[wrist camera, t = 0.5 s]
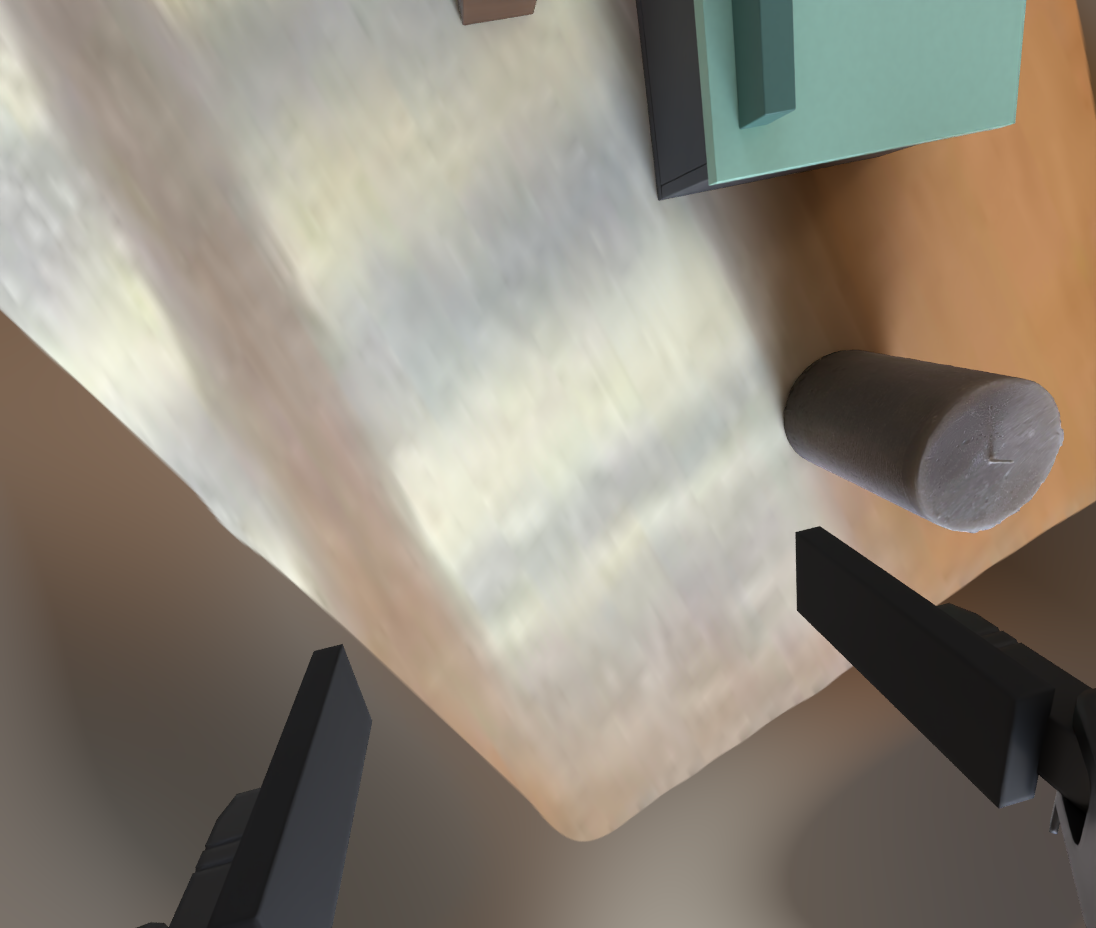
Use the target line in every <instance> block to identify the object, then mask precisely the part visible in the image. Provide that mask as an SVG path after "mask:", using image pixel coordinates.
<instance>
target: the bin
mask: <svg viewBox="0 0 1096 928" xmlns="http://www.w3.org/2000/svg"><path fill="white" fill-rule="evenodd" d="M636 4H637V13H638V22H639V31H640V40H641V49H642V58H643V67H644V76H645V85H646V94H647V103H648V112H649V121H650V130H651V139H652V148H653V157H654V166H655V175H656V184H657V193H658V200H664V199H669V198H674V197H679V196H684V195H689V194H694V193H699V192H704V191H709V190H714V189H719V188H724V187H729V186H734V185H739V184H744V183H749V182H754V181H759V180H764V179H769V178H774V177H779V176H784V175H789V174H794V173H799V172H804V171H809V170H814V169H819V168H824V167H829V166H834V165H839V164H844V163H849V162H854V161H859V160H864V159H869V158H874V157H879V156H882V155H885V154H889V153H892V152H895V151H898V150H902V149H905V148H908V147H911V146H914V145H911V146H906V147H901V148H896V149H891V150H886V151H881V152H876V153H871V154H866V155H861V156H856V157H851V158H846V159H841V160H836V161H831V162H826V163H821V164H816V165H811V166H806V167H801V168H796V169H791V170H786V171H781V172H776V173H771V174H766V175H761V176H756V177H750V178H745V179H740V180H735V181H730V182H725V183H720V184H715V185H709V182H708V170H707V157H706V145H705V133H704V121H703V108H702V96H701V84H700V72H699V59H698V47H697V35H696V23H695V10H694V0H636ZM917 145H918V144H917Z"/></svg>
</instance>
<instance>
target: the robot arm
mask: <svg viewBox="0 0 1096 928" xmlns="http://www.w3.org/2000/svg"><path fill="white" fill-rule="evenodd" d="M796 585H797V611H798V612H799V613H800V614H801V615H802V616H803V617H804V618H805V619H806V620H807V621H808V622H809V623H810V624H811V625H812V626H813V627H814V628H815V629H816V630H817V631H818V632H819V633H820V634H821V635H822V636H824V637H825V638H826V639H827V640H828V641H829V642H830V643H831V644H832V645H833V646H834V647H835V648H836V649H837V650H838V651H839V652H840V653H841V654H842V655H843V656H844V657H845V658H846V659H847V660H848V661H849V662H850V663H851V664H852V665H853V666H854V667H855V668H856V669H857V670H858V671H859V672H860V673H861V674H862V675H863V676H864V677H865V678H866V679H867V680H868V681H869V682H870V683H871V684H872V685H874V686H875V687H876V689H877V690H879V691H880V692H881V693H882V694H883V695H884V696H885V697H886V698H887V699H888V700H889V701H890V702H891V703H892V704H893V705H894V706H895V707H896V708H897V709H898V710H899V711H900V712H901V713H902V714H903V715H904V716H905V717H906V718H907V719H908V720H909V721H910V722H911V723H912V724H913V725H914V726H915V727H916V728H917V729H918V730H919V731H920V732H921V733H922V734H923V735H924V736H925V737H926V738H927V739H929V741H930V742H932V744H933V745H935V746H936V747H937V748H938V749H939V750H940V751H941V752H942V753H943V754H944V755H945V756H946V757H947V758H948V759H949V760H950V761H951V762H952V763H953V764H954V765H955V766H956V767H957V768H958V769H959V770H960V771H961V772H962V773H963V774H964V775H965V776H966V777H967V778H968V779H969V780H970V781H971V782H972V783H973V784H974V785H975V786H976V787H977V788H978V789H979V790H980V791H981V792H982V793H983V794H984V795H985V796H986V797H987V798H988V799H989V800H991V801H992V802H993V803H994V804H995V805H996V806H997V807H998V808H1002V807H1005V806H1008V805H1012V804H1015V803H1018V802H1022V801H1025V800H1028V799H1031V798H1034V795H1035V790H1036V785H1037V780H1038V775H1040V776H1041V777H1042V778H1043V779H1044V780H1046V781H1047V782H1048V783H1049V784H1050V785H1051V786H1053V787H1054V788H1055V789H1056V790H1057V793H1056V798H1055V802H1054V807H1053V811H1052V816H1051V821H1050V831H1049V832H1051V833H1055V834H1057V833H1058V829H1059V824H1060V825H1061V829H1062V833H1063V837H1064V841H1065V845H1066V849H1067V853H1068V857H1069V861H1070V865H1071V869H1072V873H1073V877H1074V881H1075V886H1076V890H1077V894H1078V898H1079V901H1080V906H1081V910H1082V914H1083V918H1084V922H1085V926H1086V928H1096V688H1095V689H1092V688H1091V687H1089V686H1087V685H1086V684H1084V683H1083V682H1081V681H1080V680H1078V679H1076V678H1075V677H1073V676H1072V675H1070V674H1069V673H1067V672H1066V671H1064V670H1063V669H1061V668H1059V667H1058V666H1056V665H1054V664H1053V663H1052V662H1050V661H1049V660H1047V659H1046V658H1044V657H1042V656H1041V655H1039V654H1038V653H1036V652H1034V651H1033V650H1032V649H1030V648H1029V647H1027V646H1025V645H1024V644H1022V643H1018V642H1017V640H1016V639H1015V638H1013V637H1012V636H1010V635H1009V634H1007V633H1005V632H1004V631H999V629H998V627H996V626H995V625H993V624H992V623H990V622H988V621H987V620H985V619H984V618H982V617H981V616H979V615H978V614H976V613H973V612H971V611H968V610H966V609H963V608H961V607H958V606H955V605H953V604H950V603H947V604H943V605H939V606H935V605H934V604H933V603H931V602H930V601H928V600H927V599H925V598H924V597H922V596H921V595H919V594H918V593H916V592H915V591H914V590H912V589H911V588H909V587H908V586H906V585H905V584H903V583H902V582H900V581H899V580H898V579H896V578H895V577H893V576H892V575H890V574H889V573H887V572H886V571H884V570H883V569H882V568H880V567H879V566H877V565H876V564H874V563H873V562H871V561H870V560H868V559H867V558H866V557H864V556H863V555H861V554H860V553H858V552H857V551H855V550H854V549H852V548H851V547H849V546H848V545H847V544H845V543H844V542H842V541H841V540H839V539H838V538H836V537H835V536H833V535H832V534H831V533H829V532H828V531H826V530H825V529H823V528H822V527H820V526H819V527H815V528H811V529H807V530H803V531H799V532H796ZM371 725H372V719H371V717H370V714H369V712H368V709H367V706H366V704H365V701H364V699H363V696H362V693H361V691H360V688H359V686H358V683H357V681H356V678H355V675H354V673H353V670H352V668H351V665H350V662H349V660H348V657H347V655H346V652H345V650H344V647H343V644H341V645H337V646H333V647H329V648H325V649H321V650H317V651H314V652H313V655H312V657H311V660H310V662H309V665H308V668H307V671H306V673H305V675H304V678H303V680H302V683H301V686H300V688H299V691H298V694H297V696H296V699H295V701H294V704H293V706H292V709H291V711H290V715H289V717H288V719H287V722H286V725H285V727H284V729H283V732H282V735H281V737H280V740H279V742H278V745H277V748H276V750H275V753H274V755H273V758H272V760H271V763H270V766H269V768H268V771H267V773H266V776H265V779H264V781H263V784H262V786H261V788H258V789H254V790H250V791H246V792H243V793H239V794H237V795H236V796H235V797H234V798H233V800H232V801H231V802H230V804H229V805H228V806H227V807H226V809H225V810H224V811H223V812H222V814H221V815H220V816H219V817H218V819H217V820H216V823H215V825H214V827H213V829H212V832H211V834H210V836H209V838H208V841H207V843H206V845H205V847H206V849H205V851H203V852H202V854H201V856H200V859H199V861H198V863H197V865H196V872H195V873H193V874H192V877H191V879H190V881H189V883H188V886H187V888H186V890H185V892H184V894H183V897H182V899H181V901H180V904H179V906H178V908H177V910H176V912H175V915H174V917H173V919H172V921H171V924H170V926H169V927H168V926H167V925H166V924H165V923H148V924H145V925H143V926H140V927H137V928H332V925H333V919H334V914H335V909H336V904H337V899H338V894H339V888H340V883H341V878H342V873H343V868H344V863H345V858H346V853H347V848H348V843H349V837H350V832H351V827H352V822H353V817H354V812H355V806H356V801H357V796H358V791H359V785H360V781H361V776H362V771H363V766H364V760H365V755H366V750H367V745H368V740H369V735H370V730H371Z"/></svg>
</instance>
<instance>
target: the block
mask: <svg viewBox="0 0 1096 928" xmlns="http://www.w3.org/2000/svg"><path fill="white" fill-rule="evenodd" d="M536 1H537V0H458V5H459V9H460V14H461V19H462V24H463V25H469V24H475V23H481V22H487V21H493V20H499V19H505V18H511V17H517V16H523V15H529V14H533V12H534V8H535V5H536Z"/></svg>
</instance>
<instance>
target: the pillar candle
mask: <svg viewBox="0 0 1096 928" xmlns="http://www.w3.org/2000/svg"><path fill="white" fill-rule="evenodd" d="M1060 425H1061V420H1060V413H1059V411H1058V408H1057V405H1056V403H1055V401H1054V399H1053V397H1052V396H1051V395H1050V393H1048V391H1047V390H1046V389H1044V388H1043V387H1042V386H1041V385H1039V384H1038V383H1036V382H1034V381H1030V380H1027V379H1022V378H1017V377H1011V376H1006V375H1000V374H994V373H989V372H983V371H978V370H970V369H967V368H960V367H954V366H951V365H944V364H936V363H932V362H925V361H920V360H915V359H910V358H902V357H895V356H890V355H885V354H878V353H872V352H867V351H861V350H849V351H838V352H834V353H831V354H829V355H826V356H824V357H822V358H821V359H819V360H817V361H816V362H814V363H813V364H812V365H811V366H809V367H808V368H807V369H806V370H805V372H804V373H802V375H801V376H800V377H799V378H798V380H797V381H796V382H795V384H794V385H793V387H792V388H791V391H790V394H789V397H788V400H787V404H786V407H785V413H784V426H785V432H786V435H787V438H788V440H789V443H790V444H791V446H792V448H793V449H794V450H795V452H797V453H798V454H799V455H800V456H801V457H802V458H804V459H806V460H808V461H810V462H812V463H814V464H815V465H817V466H820V467H822V468H824V469H825V470H828V471H830V472H832V473H834V474H836V475H838V476H840V477H842V478H844V479H846V480H848V481H850V482H852V483H854V484H856V485H858V486H860V487H862V488H864V489H866V490H868V491H870V492H872V493H874V494H876V495H878V496H880V497H882V498H884V499H886V500H888V501H890V502H892V503H894V504H896V505H898V506H900V507H902V508H904V509H906V510H908V511H910V512H912V513H914V514H916V515H918V516H920V517H922V518H924V519H927V520H929V521H931V522H932V523H934V524H937V525H939V526H941V527H944V528H946V529H950V530H953V531H962V532H963V531H964V532H970V533H976V532H978V531H979V530H987V529H990V528H992V527H994V526H995V525H996V524H1000V523H1001V521H1002V520H1004V519H1005V518H1007V517H1009V516H1010V515H1012V514H1014V513H1016V512H1017V511H1019V510H1020V507H1022V506H1023V505H1024V504H1026V503H1027V502H1029V501H1030V500H1031V499H1032V497H1033V495H1034V494H1035V493H1036V492H1037V490H1038V489H1039V487H1040V485H1041V484H1042V483H1043V482H1044V481H1045V479H1046V478H1047V476H1048V474H1049V472H1050V470H1051V468H1052V466H1053V464H1054V461H1055V458H1056V455H1057V453H1058V450H1059V447H1060V446H1062V442H1063V440H1064V432H1063V429H1061V426H1060Z"/></svg>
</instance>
